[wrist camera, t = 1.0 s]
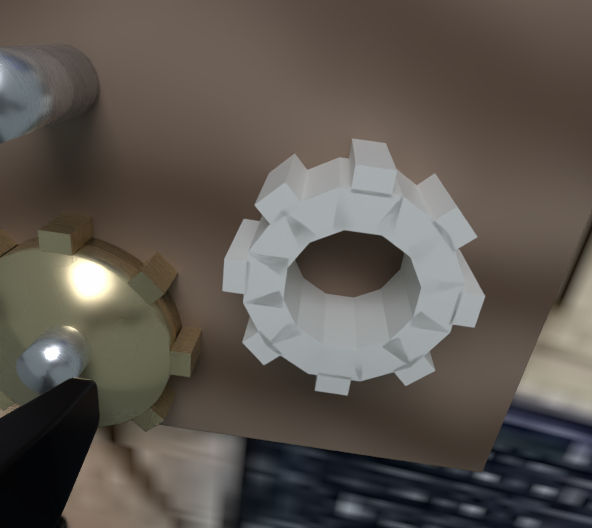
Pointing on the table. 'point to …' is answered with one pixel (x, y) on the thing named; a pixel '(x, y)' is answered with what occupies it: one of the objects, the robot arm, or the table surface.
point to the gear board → (313, 152)
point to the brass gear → (90, 322)
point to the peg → (43, 87)
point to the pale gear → (365, 308)
